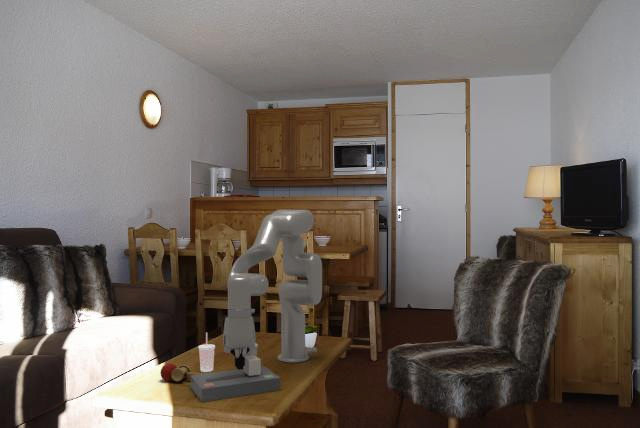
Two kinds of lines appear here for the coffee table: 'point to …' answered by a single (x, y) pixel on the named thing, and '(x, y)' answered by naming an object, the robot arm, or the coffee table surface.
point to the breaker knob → (252, 365)
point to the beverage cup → (206, 356)
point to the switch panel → (233, 384)
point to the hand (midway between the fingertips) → (239, 368)
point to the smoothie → (253, 351)
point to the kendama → (176, 372)
